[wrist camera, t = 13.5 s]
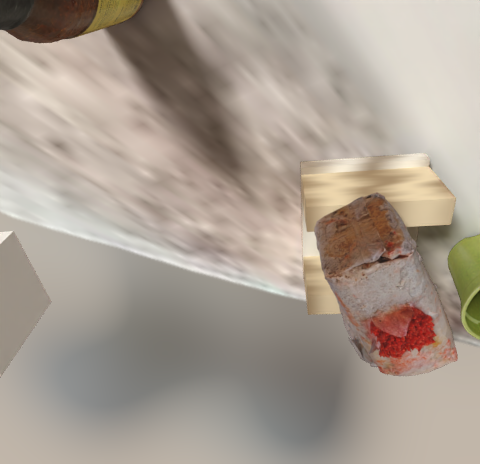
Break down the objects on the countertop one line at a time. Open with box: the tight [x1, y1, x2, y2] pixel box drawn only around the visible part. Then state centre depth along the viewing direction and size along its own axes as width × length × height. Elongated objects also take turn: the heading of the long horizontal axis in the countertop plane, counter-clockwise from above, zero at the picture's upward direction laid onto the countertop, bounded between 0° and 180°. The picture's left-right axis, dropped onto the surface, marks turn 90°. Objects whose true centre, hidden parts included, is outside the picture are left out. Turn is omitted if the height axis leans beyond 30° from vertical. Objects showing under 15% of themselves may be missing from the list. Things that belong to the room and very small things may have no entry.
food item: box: [314, 192, 457, 376], centre depth 31 cm, size 14×8×10 cm, turn 32°
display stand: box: [300, 153, 456, 315], centre depth 39 cm, size 12×14×8 cm
